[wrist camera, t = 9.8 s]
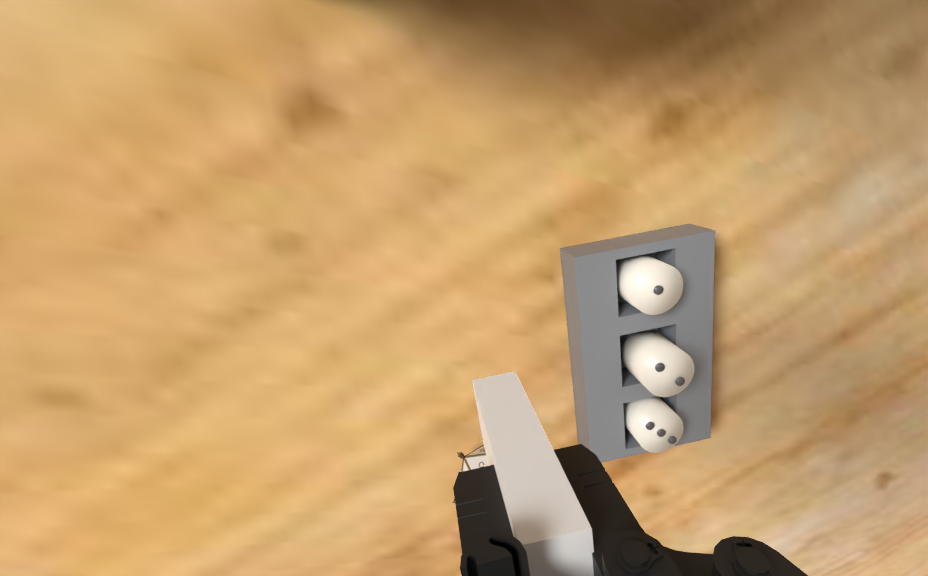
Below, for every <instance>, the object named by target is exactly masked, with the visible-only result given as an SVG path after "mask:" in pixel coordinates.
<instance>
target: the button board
mask: <svg viewBox="0 0 928 576" xmlns="http://www.w3.org/2000/svg"><path fill="white" fill-rule="evenodd" d="M560 252H561V263H562V273H563V284H564V295H565V305H566V316H567V327H568V338H569V348H570V359H571V370H572V381H573V391H574V402H575V413H576V423H577V434H578V442H579V444H582V445H583V446H585V447H586V448H588V449H589V450H590V451H592V452H593V453H594V454H596V456H597V457H598V459H599V460H600V462H606V461H610V460H615V459H619V458H623V457H628V456H632V455H637V454H641V453H646V452H649V451H646V450H645V449H643V448H642V447H641V445H640V444H639V443H638V442H637V440H636V439H635V438H634V437H633V435H632V434H631V433H630V431H629V430H628V429H627V428H626V426H625V425H624V409H623V403H628V402H632V401H637V400H641V399H646V398H651V397H655V396H656V395H654V394H652V393H651V392H650V391H649V390H648V389H647V388H646V387H645V386H644V385H643V384H642V383H641V382H640V381H639V380H638V379H637V378H636V377H635V376H634V375H633V374H632V373H631V372H630V371H629V370H628V369H627V368H626V367H625V366H624V365H623V364H622V361H621V348H622V345H623V343H624V342H625V340H626V339H627V338H628V337H629V336H630V335H632V334H633V333H636V332H640V331H645V330H654V331H656V332H658V333H659V334H661V335H662V336H664V337H665V338H666V339H668V340H669V341H670V342H672V343H673V344H674V345H676V346H677V347H679V348H680V349H681V350H683V351H684V352H685V353H687V354H688V355H689V356H690V357H691V358H692V360H693V362H694V375H693V378H692V380H691V382H690V383H689V385H688V386H687V387H686V388H685V389H684V390H683V391H681V392H680V393H678V394H676V395H674V396H670V397H660V398H661V399H662V400H663V401H664V402H665V403H666V404H667V405H668V406H669V407H670V408H671V409H672V410H673V411H674V412H675V413H676V414H677V415H678V416H679V417H680V418H681V420H682V422H683V427H684V428H683V434H682V436H681V438H680V440H679V441H678V442H677V443H676V444H675V445H674V446H676V445H681V444H685V443H690V442H694V441H699V440H703V439H707V438H710V434H711V390H712V346H713V302H714V258H715V230H711V229H707V228H704V227H700V226H696V225H692V224H686V225H681V226H675V227H670V228H665V229H660V230H654V231H649V232H644V233H639V234H633V235H628V236H623V237H618V238H612V239H607V240H602V241H597V242H591V243H586V244H581V245H576V246H570V247H565V248H560ZM643 254H646V255H648V256H651V257H653V258H655V259H657V260H660V261H662V262H664V263H666V264H669V265H671V266H673V267H675V268H676V269H677V270H678V271H679V272H680V274H681V276H682V278H683V291H682V295H681V297H680V299H679V300H678V302H677V303H676V304H675V305H674V306H673V307H672V308H671V309H670V310H668V311H666V312H664V313H662V314H658V315H649V314H645V313H643V312H641V311H640V310H638V309H637V308H636V307H634V306H633V305H631V304H630V303H628V302H627V301H625V300H624V299H622V298H621V297H620V296H618V294H617V274H616V260H618V259H623V258H628V257H633V256H638V255H643Z"/></svg>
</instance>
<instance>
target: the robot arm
mask: <svg viewBox="0 0 928 576" xmlns="http://www.w3.org/2000/svg"><path fill="white" fill-rule="evenodd" d="M472 381H473V387H474V393H475V398H476V404H477V410H478V415H479V421H480V427H481V432H482V438H483V444H484V448H485V452H486V456H487V460H488V464H489V466H485V467H481V468H477V469H472V470H468V471H463V472H459V473H458V476H457V479H456V482H455V485H454V488H453V489H454V496H455V503H456V510H457V517H458V525H459V532H460V540H461V547H462V556H461V565H460V570H461V574H462V576H808V575H806V574H805V573H804V572H803V571H801V570H800V569H799V568H798V567H796V566H795V565H794V564H793V563H791V562H790V561H789V560H787V559H786V558H785V557H784V556H782V555H781V554H780V553H779V552H777V551H776V550H774V549H773V548H771V547H769V546H768V545H766V544H765V543H763V542H760V541H757V540H754V539H751V538H748V537H735V536H733V537H729V538H726V539H722V540H721V541H720V542H719V543H718V544H717V545H716V546H715V548H714V553H713V554H703V553H689V552H681V551H676V550H672V549H670V548H667V547H664V546H662V545H661V543H660V542H659V541H658V540H656V539H655V538H653V537H651V536H649V535H648V534H646V533H645V532H644V530H643V529H642V528H641V527H640V525H639V523H638V522H637V520H636V519H635V517H634V515H633V514H632V512H631V510H630V509H629V507H628V506H627V504H626V502H625V501H624V499H623V498H622V496H621V494H620V493H619V491H618V489H617V488H616V486H615V485H614V483H612V480H611V478H610V477H609V475H608V473H607V472H605V468H604V467H603V465H602V464H601V462H600V460H599V459H598V457H597V456H596V454H594V453H593V452H592V451H590V450H589V449H588V448H586V447H585V446H583V445H582V444H579V445H574V446H570V447H565V448H561V449H556V450H553V448H552V446H551V444H550V442H549V440H548V438H547V436H546V434H545V431H544V429H543V427H542V425H541V423H540V421H539V419H538V417H537V415H536V413H535V411H534V409H533V407H532V405H531V403H530V401H529V399H528V397H527V395H526V393H525V390H524V388H523V386H522V384H521V382H520V380H519V378H518V376H517V374H516V372H515V371H514V372H509V373H504V374H500V375H495V376H490V377H485V378H480V379H476V380H472Z"/></svg>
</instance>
